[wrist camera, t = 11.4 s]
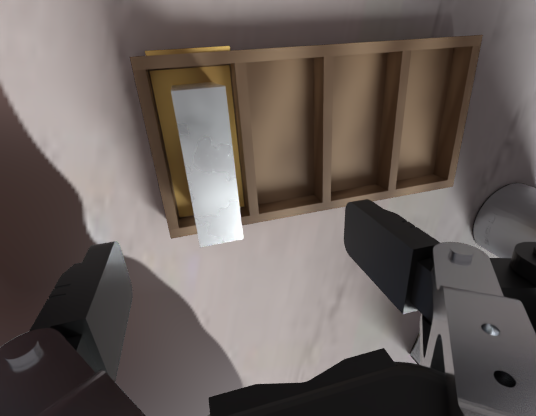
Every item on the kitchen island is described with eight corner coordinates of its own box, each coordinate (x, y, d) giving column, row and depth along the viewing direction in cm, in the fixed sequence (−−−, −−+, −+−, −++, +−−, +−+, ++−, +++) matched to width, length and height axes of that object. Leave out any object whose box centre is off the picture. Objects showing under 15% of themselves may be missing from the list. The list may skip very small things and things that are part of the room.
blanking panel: (212, 81, 24) (225, 86, 18) (228, 201, 28) (243, 238, 22) (171, 85, 23) (170, 91, 17) (194, 207, 27) (200, 247, 21)
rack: (455, 34, 29) (483, 30, 26) (431, 177, 35) (452, 186, 32) (133, 53, 23) (128, 51, 20) (171, 222, 29) (170, 238, 26)
